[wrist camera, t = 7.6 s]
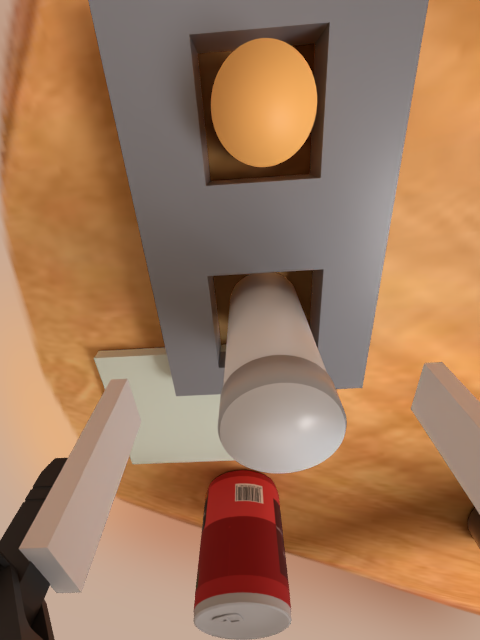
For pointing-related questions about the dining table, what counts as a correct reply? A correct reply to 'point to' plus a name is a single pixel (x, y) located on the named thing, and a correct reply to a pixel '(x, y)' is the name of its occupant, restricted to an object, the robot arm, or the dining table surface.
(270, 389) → the cartridge
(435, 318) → the dining table surface
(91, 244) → the dining table surface
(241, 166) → the dining table surface
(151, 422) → the mat
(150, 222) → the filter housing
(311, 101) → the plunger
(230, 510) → the canned food
